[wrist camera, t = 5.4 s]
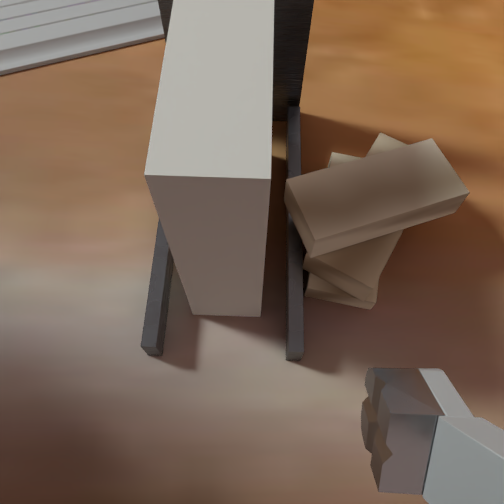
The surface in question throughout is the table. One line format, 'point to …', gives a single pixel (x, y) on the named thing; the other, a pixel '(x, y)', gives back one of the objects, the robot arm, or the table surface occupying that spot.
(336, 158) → the block
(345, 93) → the table surface
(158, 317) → the rack
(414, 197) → the offcut top
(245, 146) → the off-white wooden block
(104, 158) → the table surface
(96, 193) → the table surface
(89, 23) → the baseboard molding
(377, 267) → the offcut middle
